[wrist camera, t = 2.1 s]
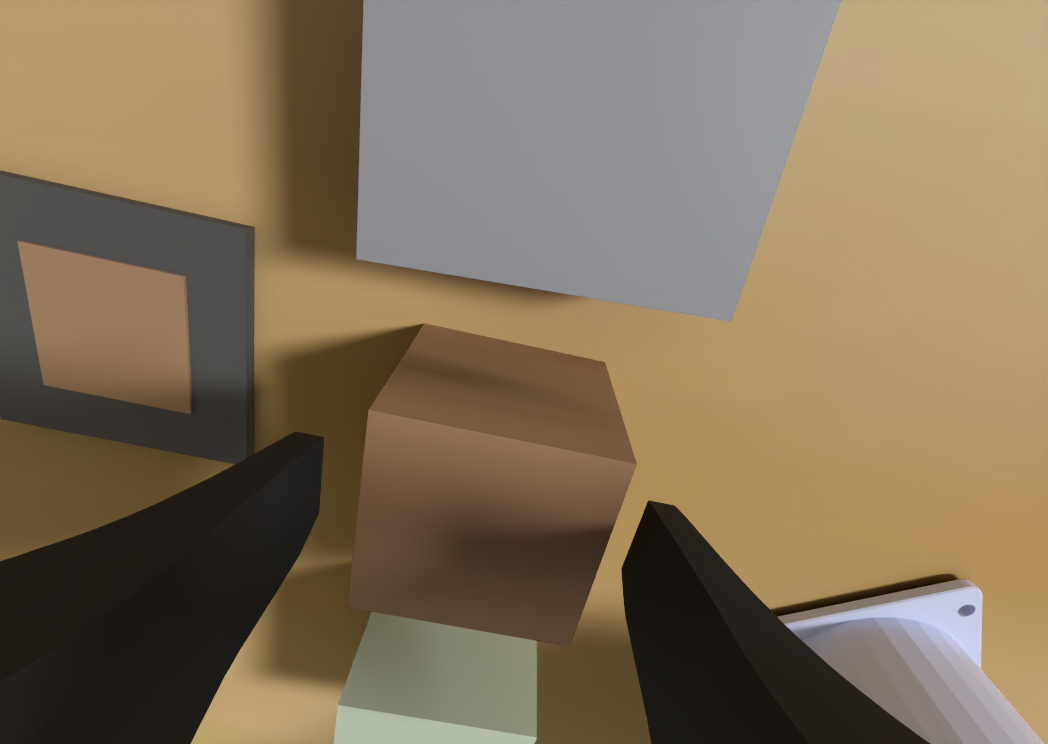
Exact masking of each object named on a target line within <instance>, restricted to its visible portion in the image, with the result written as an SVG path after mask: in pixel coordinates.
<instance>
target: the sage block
mask: <svg viewBox="0 0 1048 744" xmlns="http://www.w3.org/2000/svg"><path fill="white" fill-rule="evenodd" d="M536 739H537V641H535V640H529V639H523V638H518V637H512V636H506V635H501V634H495V633H489V632H484V631H478V630H472V629H467V628H461V627H455V626H450V625H444V624H438V623H433V622H427V621H421V620H416V619H410V618H404V617H398V616H393V615H387V614H381V613H376V612H371V614H370V617H369V620H368V623H367V625H366V628H365V631H364V634H363V636H362V639H361V642H360V645H359V648H358V650H357V653H356V656H355V659H354V661H353V664H352V667H351V670H350V673H349V675H348V678H347V681H346V684H345V686H344V689H343V692H342V695H341V698H340V700H339V703H338V708H337V717H336V726H335V735H334V744H535V742H536Z"/></svg>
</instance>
